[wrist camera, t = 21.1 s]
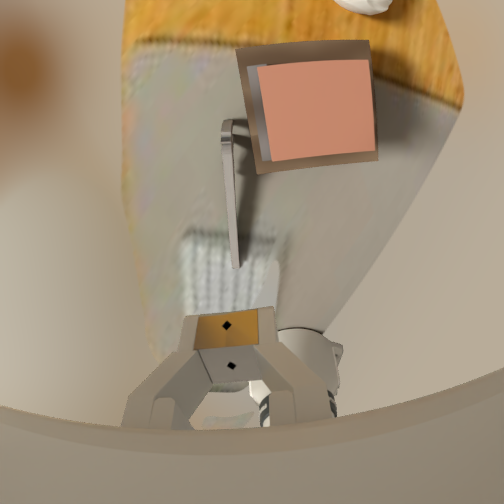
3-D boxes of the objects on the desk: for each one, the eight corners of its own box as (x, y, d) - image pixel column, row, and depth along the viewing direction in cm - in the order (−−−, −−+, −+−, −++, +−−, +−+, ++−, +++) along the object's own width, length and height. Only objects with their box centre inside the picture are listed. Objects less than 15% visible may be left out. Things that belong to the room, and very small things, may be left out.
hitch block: (354, 142, 35) (385, 166, 27) (255, 153, 36) (257, 181, 28) (344, 45, 29) (376, 38, 21) (238, 54, 30) (234, 47, 21)
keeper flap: (271, 158, 26) (272, 161, 26) (256, 67, 22) (257, 67, 21) (371, 147, 26) (375, 150, 25) (364, 59, 22) (368, 59, 21)
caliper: (223, 119, 34) (218, 128, 29) (233, 118, 34) (230, 127, 29) (232, 266, 45) (230, 295, 40) (240, 266, 45) (239, 295, 40)
